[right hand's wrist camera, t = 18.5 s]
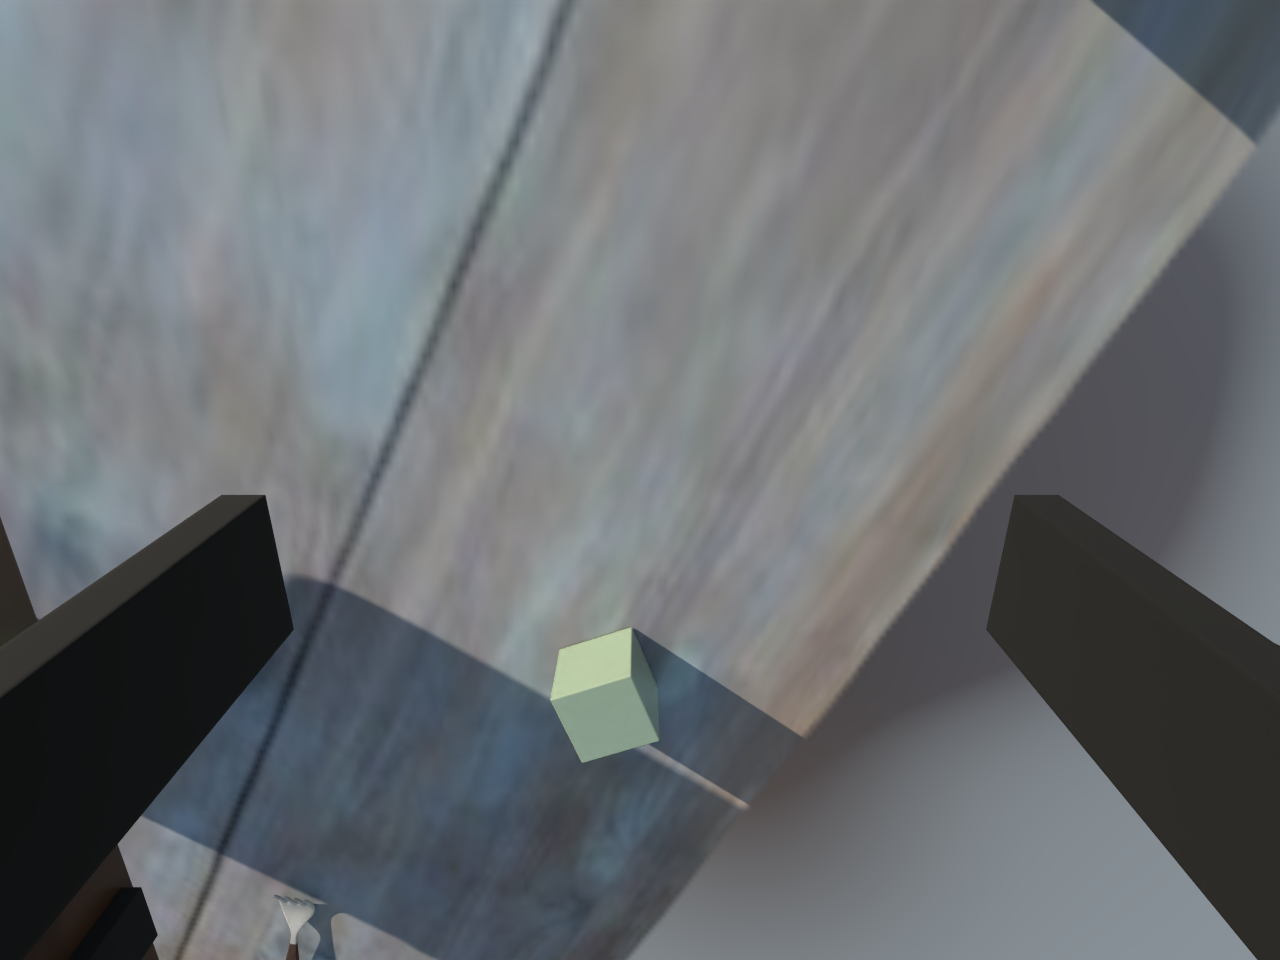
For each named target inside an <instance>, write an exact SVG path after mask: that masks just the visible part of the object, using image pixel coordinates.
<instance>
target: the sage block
mask: <svg viewBox="0 0 1280 960" xmlns="http://www.w3.org/2000/svg"><path fill="white" fill-rule="evenodd" d="M551 702H552V704H553V706H554V708H555V710H556V712H557V714H558V716H559V718H560V720H561V722H562V724H563V726H564V728H565V730H566V732H567V734H568V736H569V738H570V740H571V742H572V744H573V746H574V748H575V750H576V752H577V754H578V756H579V758H580V760H581V762H582V763H585V762H588V761H592V760H595V759H599V758H602V757H605V756H609V755H612V754H616V753H619V752H623V751H626V750H630V749H633V748H637V747H640V746H644V745H647V744H651V743H654V742H657V741H660V732H659V705H658V686H657V684H656V682H655V679H654V677H653V675H652V672H651V670H650V668H649V665H648V663H647V661H646V658H645V656H644V654H643V651H642V649H641V647H640V645H639V642H638V640H637V638H636V635H635V633H634V631H633V628H632V627H630V628H627V629H624V630H621V631H617V632H614V633H611V634H608V635H605V636H601V637H598V638H595V639H592V640H589V641H585V642H582V643H579V644H576V645H573V646H569V647H566V648H563V649H560V650H559V656H558V661H557V667H556V672H555V678H554V683H553V689H552V694H551Z"/></svg>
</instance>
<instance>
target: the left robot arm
mask: <svg viewBox="0 0 1280 960" xmlns="http://www.w3.org/2000/svg"><path fill="white" fill-rule="evenodd" d="M156 937H157V932H156V929H155V926H154V923H153V920H152V917H151V915H150V912H149V909H148V906H147V903H146V900H145V897H144V894H143V892H142V889H141V887H122V888H121V889H120V891H119V892H118V893H117V895H116V896H115V897H114V899H113V900H112V901H111V903H110V904H109V906H108V907H107V908H106V910H105V911H104V912H103V914H102V915H101V916H100V918H99V919H98V920H97V922H96V923H95V924H94V926H93V927H92V928H91V930H90V931H89V932H88V934H87V935H86V936H85V938H84V939H83V940H82V942H81V943H80V944H79V946H78V947H77V948H76V950H75V951H74V952H73V954H72V955H71V956H70V958H69V959H68V960H142V958H143V957H144V955H145V954H146V952H147V951H148V949H149V948H150V946H151V945H152V943H153V941H154V940H155V938H156Z"/></svg>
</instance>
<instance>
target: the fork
mask: <svg viewBox="0 0 1280 960" xmlns="http://www.w3.org/2000/svg"><path fill="white" fill-rule="evenodd" d="M273 898H276V899H278V900H279V901H280V904H281V908H282V910H283V913H284V915H285V917H286V920H287V922H288V924H289V927H290V930H291V941H290V945H289V949H288V953H287V957H286V960H299V954H298V944H297V934H298V932H299V930H300V929H301V928H302V927H303V926H304V925H305V924H306V923H307V921H308V920H309V919H310V918H311V917H312V916H313V914H314V913H315V906H314V905H313V903H312V902H310V901H308V900H304V901H301V900H300V899H297V898H295V899H294V900H292V899H291V898H289V897H284V898H282V897H280V896H278V895H274V897H273ZM295 901H296V902H295ZM306 903H307V904H306Z"/></svg>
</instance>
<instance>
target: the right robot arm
mask: <svg viewBox="0 0 1280 960" xmlns="http://www.w3.org/2000/svg"><path fill="white" fill-rule="evenodd" d="M293 630H294V628H293V623H292V619H291V614H290V609H289V605H288V600H287V595H286V590H285V586H284V581H283V576H282V571H281V567H280V562H279V557H278V553H277V548H276V543H275V538H274V534H273V529H272V524H271V520H270V515H269V510H268V505H267V501H266V496H265V495H221V496H219V497H218V498H217V499H215V500H214V501H212V502H211V503H209V504H208V505H206V506H205V507H203V508H202V509H201V510H199V511H198V512H196V513H195V514H193V515H192V516H190V517H189V518H187V519H186V520H185V521H183V522H182V523H180V524H179V525H177V526H176V527H174V528H173V529H171V530H170V531H168V532H167V533H166V534H164V535H163V536H161V537H160V538H158V539H157V540H155V541H154V542H152V543H151V544H150V545H148V546H147V547H145V548H144V549H142V550H141V551H139V552H138V553H136V554H135V555H134V556H132V557H131V558H129V559H128V560H126V561H125V562H123V563H122V564H120V565H119V566H118V567H116V568H115V569H113V570H112V571H110V572H109V573H107V574H106V575H104V576H103V577H101V578H100V579H99V580H97V581H96V582H94V583H93V584H91V585H90V586H88V587H87V588H85V589H84V590H83V591H81V592H80V593H78V594H77V595H75V596H74V597H72V598H71V599H69V600H68V601H67V602H65V603H64V604H62V605H61V606H59V607H58V608H56V609H55V610H53V611H52V612H51V613H49V614H48V615H46V616H45V617H43V618H42V619H40V620H39V621H37V622H36V623H35V624H33V625H32V626H30V627H29V628H27V629H26V630H24V631H23V632H21V633H20V634H18V635H17V636H16V637H14V638H13V639H11V640H10V641H8V642H7V643H5V644H4V645H2V646H1V647H0V960H23V959H24V957H25V956H26V955H27V954H28V952H29V951H30V950H31V949H32V948H33V946H34V945H35V944H36V943H37V941H38V940H39V939H40V938H41V937H42V935H43V934H44V933H45V932H46V931H47V929H48V928H49V927H50V926H51V924H52V923H53V922H54V921H55V920H56V918H57V917H58V916H59V915H60V913H61V912H62V911H63V910H64V909H65V907H66V906H67V905H68V904H69V903H70V901H71V900H72V899H73V898H74V896H75V895H76V894H77V893H78V892H79V890H80V889H81V888H82V887H83V885H84V884H85V883H86V882H87V881H88V879H89V878H90V877H91V876H92V875H93V873H94V872H95V871H96V870H97V868H98V867H99V866H100V865H101V864H102V862H103V861H104V860H105V859H106V857H107V856H108V855H109V854H110V853H111V851H112V850H113V849H114V848H115V846H116V845H117V844H118V843H119V842H120V840H121V839H122V838H123V837H124V836H125V834H126V833H127V832H128V831H129V829H130V828H131V827H132V826H133V825H134V823H135V822H136V821H137V820H138V818H139V817H140V816H141V815H142V814H143V812H144V811H145V810H146V809H147V808H148V806H149V805H150V804H151V803H152V801H153V800H154V799H155V798H156V797H157V795H158V794H159V793H160V792H161V790H162V789H163V788H164V787H165V786H166V784H167V783H168V782H169V781H170V780H171V778H172V777H173V776H174V775H175V773H176V772H177V771H178V770H179V769H180V767H181V766H182V765H183V764H184V762H185V761H186V760H187V759H188V758H189V756H190V755H191V754H192V753H193V752H194V750H195V749H196V748H197V747H198V745H199V744H200V743H201V742H202V741H203V739H204V738H205V737H206V736H207V734H208V733H209V732H210V731H211V730H212V728H213V727H214V726H215V725H216V723H217V722H218V721H219V720H220V719H221V717H222V716H223V715H224V714H225V713H226V711H227V710H228V709H229V708H230V706H231V705H232V704H233V703H234V702H235V700H236V699H237V698H238V697H239V695H240V694H241V693H242V692H243V691H244V689H245V688H246V687H247V686H248V685H249V683H250V682H251V681H252V680H253V678H254V677H255V676H256V675H257V674H258V672H259V671H260V670H261V669H262V667H263V666H264V665H265V664H266V663H267V661H268V660H269V659H270V658H271V657H272V655H273V654H274V653H275V652H276V650H277V649H278V648H279V647H280V646H281V644H282V643H283V642H284V641H285V639H286V638H287V637H288V636H289V635H290V633H291V632H292V631H293ZM986 630H987V631H988V632H989V633H990V635H991V636H992V637H993V638H994V639H995V641H996V642H997V643H998V644H999V646H1000V647H1001V648H1002V649H1003V650H1004V652H1005V653H1006V654H1007V655H1008V657H1009V658H1010V659H1011V660H1012V661H1013V663H1014V664H1015V665H1016V666H1017V667H1018V669H1019V670H1020V671H1021V672H1022V673H1023V675H1024V676H1025V677H1026V678H1027V680H1028V681H1029V682H1030V683H1031V684H1032V686H1033V687H1034V688H1035V689H1036V691H1037V692H1038V693H1039V694H1040V695H1041V697H1042V698H1043V699H1044V700H1045V701H1046V703H1047V704H1048V705H1049V706H1050V708H1051V709H1052V710H1053V711H1054V713H1055V714H1056V715H1057V716H1058V717H1059V719H1060V720H1061V721H1062V722H1063V723H1064V725H1065V726H1066V727H1067V728H1068V730H1069V731H1070V732H1071V733H1072V734H1073V736H1074V737H1075V738H1076V739H1077V741H1078V742H1079V743H1080V744H1081V745H1082V747H1083V748H1084V749H1085V750H1086V752H1087V753H1088V754H1089V755H1090V756H1091V758H1092V759H1093V760H1094V761H1095V762H1096V764H1097V765H1098V766H1099V767H1100V769H1101V770H1102V771H1103V772H1104V773H1105V775H1106V776H1107V777H1108V778H1109V779H1110V781H1111V782H1112V783H1113V784H1114V786H1115V787H1116V788H1117V789H1118V790H1119V792H1120V793H1121V794H1122V795H1123V797H1124V798H1125V799H1126V800H1127V801H1128V803H1129V804H1130V805H1131V806H1132V808H1133V809H1134V810H1135V811H1136V812H1137V814H1138V815H1139V816H1140V817H1141V818H1142V820H1143V821H1144V822H1145V823H1146V825H1147V826H1148V827H1149V828H1150V829H1151V831H1152V832H1153V833H1154V834H1155V836H1156V837H1157V838H1158V839H1159V840H1160V842H1161V843H1162V844H1163V845H1164V846H1165V848H1166V849H1167V850H1168V851H1169V853H1170V854H1171V855H1172V856H1173V857H1174V859H1175V860H1176V861H1177V862H1178V864H1179V865H1180V866H1181V867H1182V868H1183V870H1184V871H1185V872H1186V873H1187V874H1188V876H1189V877H1190V878H1191V879H1192V881H1193V882H1194V883H1195V884H1196V885H1197V887H1198V888H1199V889H1200V890H1201V891H1202V893H1203V894H1204V895H1205V896H1206V898H1207V899H1208V900H1209V901H1210V902H1211V904H1212V905H1213V906H1214V907H1215V909H1216V910H1217V911H1218V912H1219V913H1220V915H1221V916H1222V917H1223V918H1224V920H1225V921H1226V922H1227V923H1228V924H1229V926H1230V927H1231V928H1232V929H1233V931H1234V932H1235V933H1236V934H1237V935H1238V937H1239V938H1240V939H1241V940H1242V941H1243V943H1244V944H1245V945H1246V946H1247V948H1248V949H1249V950H1250V951H1251V952H1252V954H1253V955H1254V956H1255V957H1256V959H1257V960H1280V646H1279V645H1277V644H1275V643H1273V642H1272V641H1270V640H1269V639H1267V638H1266V637H1264V636H1263V635H1262V634H1260V633H1259V632H1257V631H1256V630H1254V629H1253V628H1251V627H1250V626H1248V625H1247V624H1245V623H1244V622H1243V621H1241V620H1240V619H1238V618H1237V617H1235V616H1234V615H1232V614H1231V613H1229V612H1228V611H1227V610H1225V609H1224V608H1222V607H1221V606H1219V605H1218V604H1216V603H1215V602H1213V601H1212V600H1211V599H1209V598H1208V597H1206V596H1205V595H1203V594H1202V593H1200V592H1199V591H1197V590H1196V589H1194V588H1193V587H1192V586H1190V585H1189V584H1187V583H1186V582H1184V581H1183V580H1181V579H1180V578H1178V577H1177V576H1176V575H1174V574H1173V573H1171V572H1170V571H1168V570H1167V569H1165V568H1164V567H1162V566H1161V565H1160V564H1158V563H1157V562H1155V561H1154V560H1152V559H1151V558H1149V557H1148V556H1146V555H1145V554H1144V553H1142V552H1141V551H1139V550H1138V549H1136V548H1135V547H1133V546H1132V545H1130V544H1129V543H1128V542H1126V541H1125V540H1123V539H1122V538H1120V537H1119V536H1117V535H1116V534H1114V533H1113V532H1112V531H1110V530H1109V529H1107V528H1106V527H1104V526H1103V525H1101V524H1100V523H1098V522H1097V521H1095V520H1094V519H1093V518H1091V517H1090V516H1088V515H1087V514H1085V513H1084V512H1082V511H1081V510H1079V509H1078V508H1077V507H1075V506H1074V505H1072V504H1071V503H1069V502H1068V501H1066V500H1065V499H1063V498H1062V497H1061V496H1059V495H1015V496H1014V501H1013V505H1012V510H1011V515H1010V520H1009V524H1008V529H1007V534H1006V538H1005V543H1004V548H1003V553H1002V557H1001V562H1000V567H999V572H998V576H997V581H996V586H995V590H994V595H993V600H992V605H991V609H990V614H989V619H988V623H987V628H986Z"/></svg>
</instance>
